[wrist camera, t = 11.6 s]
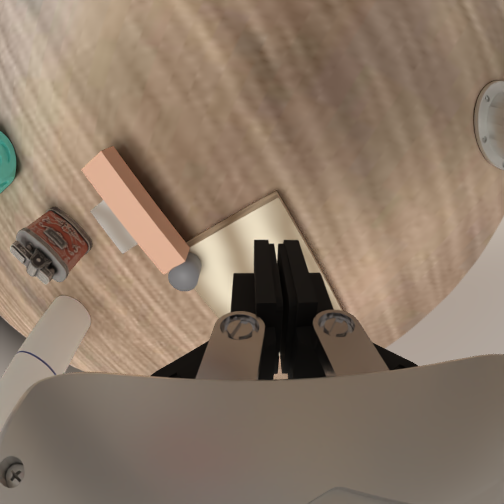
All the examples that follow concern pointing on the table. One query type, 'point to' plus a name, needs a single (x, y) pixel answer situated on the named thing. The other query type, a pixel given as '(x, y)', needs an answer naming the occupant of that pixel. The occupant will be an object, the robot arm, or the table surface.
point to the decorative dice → (6, 162)
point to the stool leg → (143, 218)
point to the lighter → (51, 246)
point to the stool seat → (229, 247)
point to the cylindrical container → (44, 351)
